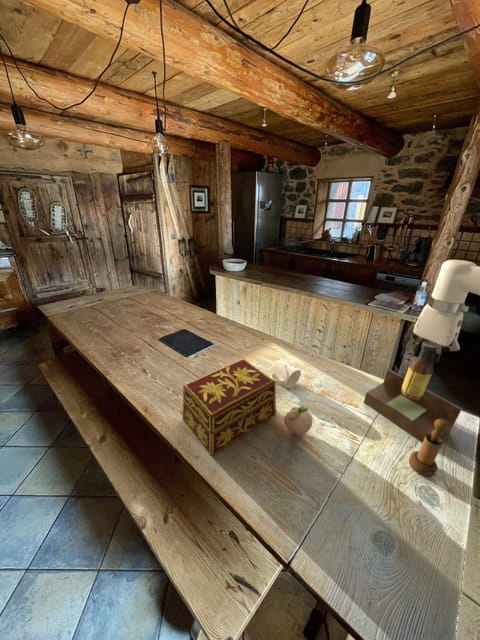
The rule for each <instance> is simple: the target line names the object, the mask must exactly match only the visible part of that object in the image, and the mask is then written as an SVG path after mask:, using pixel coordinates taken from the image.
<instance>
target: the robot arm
mask: <svg viewBox="0 0 480 640" xmlns="http://www.w3.org/2000/svg"><path fill="white" fill-rule="evenodd" d="M433 287H434V288H433V291H432V293H431V296H430V298H429V301H428V303H427V304H425V305H424V307H423V309H422V311H421V312H420V314H419V316H418V317H417V320H416V321H415V322H416V323H415V324H414V325H413V326H411V327H410V328H408V329H407V332H408V333H409V334H410V336H411V338H412V339H413V341H414V345H415V346H414V349H413V357H417V355H418V354H419V352H420V349H421V344H422V342H423V341H430V342H433V343H435V344H436V345H437V347H436V351H435V352H433V354H432V357H431V359H430V362H429V363H430V364H433V365H434V364H435V363H438V362H439V361H440V359H441V356H442V354H444V353H447V352H458V351H459V350H461V347H460V344H459V341H458V338H459V334H460V332H461V327H462V324H463V320H464V312H465V313H466V312H468V311H469V308H470V307H469V306H466V305H465V303H466V302H465V301H466V298H467V296H468V294H469V293H472V294H474V295H478V296H480V266H478V265H477V264H476V263H474V262H472V261H469V260H462V259H448V260H446V261H444V262H443V263H442V265H441V268H440V270H439V274H438V276H437V279H436V282H435V285H434V286H433Z"/></svg>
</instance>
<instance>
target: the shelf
mask: <svg viewBox="0 0 480 640" xmlns="http://www.w3.org/2000/svg"><path fill="white" fill-rule="evenodd" d="M405 377H406V376H403V375H402V374H399V373H398V372H395V371H394V370H392V369H390V368H389V369H387V370H386V373H385V376H384V379H383V382H382V383H380V384H378V385H376V386H375V387H372V388H371V389H370V390H368V391H366V392H365V396H364V399H363V403H364V404H365V405H367V406H368V407H370V408H371V409H372V410H374V411H375V412H377V413H378V414H380V415H381V416H383V418H386V420H388V421H390V422H391V423H393V424H394V425H396V426H397V427H399V428H400V429H401V430H403V431H404V432H405V433H407V434H408V435H410V436H411V437H413V438H414V439H416V440H417V441H419V442H420V443H421V444H422V443H423V441H424V439H425V436H426V435H427V434H432V431H433V430H435V425H434V422H435V421H436V420H437V419H443V420H445V421H446V422H447V423H448V426H449V427H448V429H447V430H446V431H444V432H441V434H442V437H441V438H440V439H441V440H442V441H443V440H444V439H445V438H446V437H448V435H450V433H451V432H452V429H453V427H454V425H455V423H456V422H457V420H458V417H459V416H460V413H461V412H462V410H463V408H462V407H461V406H459V405H457V404H456V403H454V402H451V401H450V400H448V399H446V398H444V397H442V396H440V395H438V394H437V393H435V392H434V391H433V392H432V391H431V390H429V389H427V388H426V389H425V392H424V394H423V396H422V397H421V399H419V400H412V399H409V398H407V397H406V396H404V394H403V393H402V392H401V390H402V385H403V382H404V380H405Z"/></svg>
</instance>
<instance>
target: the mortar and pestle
mask: <svg viewBox="0 0 480 640" xmlns="http://www.w3.org/2000/svg"><path fill="white" fill-rule="evenodd" d="M434 425H435V430H433V431H432V434H427V435H426V436H425V439H424V441H423V443H422V442H421V446H420V448H419V449H418V450H417V451H413V452H412V453H411V454H410V456H409V457H408V463H409V466H410V468H412V470H413V471H414V472H415V473H416V474H418V475H420V476H422V477H424V478H432V477H434V476H435V475H436V472H437V471H438V464H437V461H436V458H437V456H438V454H439V453H440V450H441V448H442V446H443V444H444V442H443V440H441V439H440V438H441V437H442V434H441V432H444V431H446V430H447V429H448V427H449V426H448V423H447V422H446V421H445V420H443V419H437V420H436V421H435V422H434Z"/></svg>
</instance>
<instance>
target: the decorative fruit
mask: <svg viewBox="0 0 480 640" xmlns="http://www.w3.org/2000/svg"><path fill="white" fill-rule="evenodd" d="M283 419H284V420H283V421H284V425H285V428H286V429H287V430H288V431H289V432H290V433H291V434H293V435H305V434H307V433H308V432H309V431H310V430H311V428H312V426H313V416H312V414H311V412H310V411H309V407H308V406H307V405H295V406H293V407H292V408H290V411H288V412H287V413H286V414H285V416H284V418H283Z"/></svg>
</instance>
